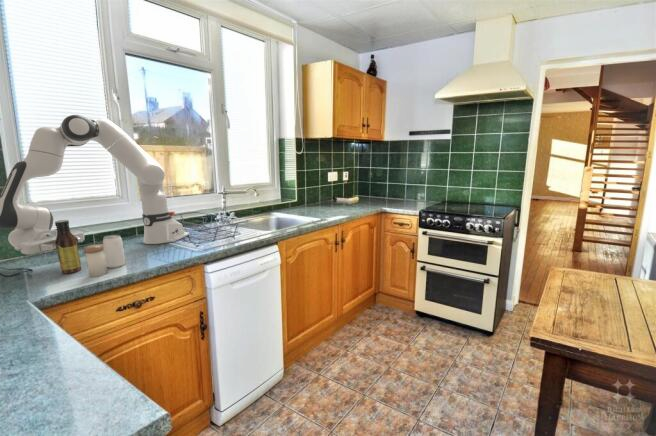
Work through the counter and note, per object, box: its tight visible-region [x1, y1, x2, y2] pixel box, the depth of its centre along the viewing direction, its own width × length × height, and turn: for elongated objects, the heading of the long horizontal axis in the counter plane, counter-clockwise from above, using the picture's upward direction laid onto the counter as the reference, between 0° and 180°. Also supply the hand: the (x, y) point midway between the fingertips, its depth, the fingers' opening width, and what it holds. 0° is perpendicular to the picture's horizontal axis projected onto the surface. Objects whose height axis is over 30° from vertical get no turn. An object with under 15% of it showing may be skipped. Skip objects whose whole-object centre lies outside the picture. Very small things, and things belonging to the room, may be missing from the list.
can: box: [102, 234, 126, 269], centre depth 135 cm, size 6×6×12 cm
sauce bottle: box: [54, 219, 82, 274], centre depth 128 cm, size 7×6×20 cm
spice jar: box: [83, 243, 108, 277], centre depth 126 cm, size 6×6×11 cm
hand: (67, 243), depth 128 cm, fingers open, 8 cm apart
